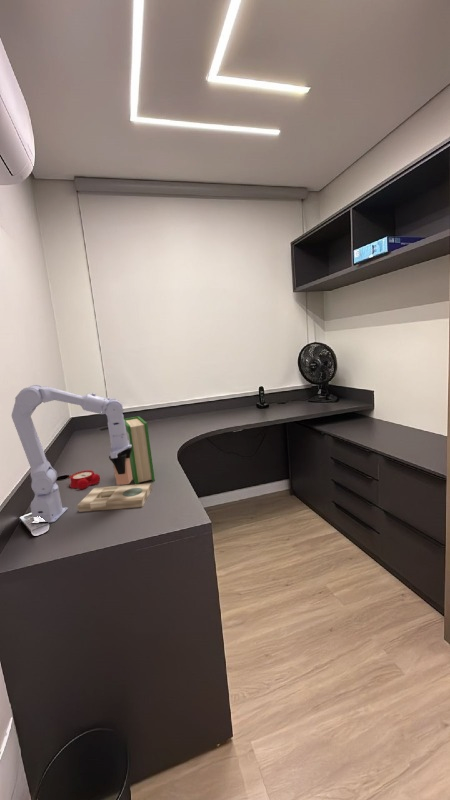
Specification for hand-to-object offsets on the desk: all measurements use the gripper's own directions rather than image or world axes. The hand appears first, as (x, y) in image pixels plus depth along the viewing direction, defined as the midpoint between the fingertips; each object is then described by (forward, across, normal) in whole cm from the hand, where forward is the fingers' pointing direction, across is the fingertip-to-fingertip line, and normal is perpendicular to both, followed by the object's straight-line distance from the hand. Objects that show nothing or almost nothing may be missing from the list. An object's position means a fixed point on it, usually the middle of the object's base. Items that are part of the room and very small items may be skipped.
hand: (123, 471), depth 122 cm
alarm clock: (+11, +18, +24) cm, 32 cm away
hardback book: (+11, +22, +1) cm, 24 cm away
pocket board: (+10, 0, +4) cm, 11 cm away
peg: (+4, 0, 0) cm, 4 cm away
